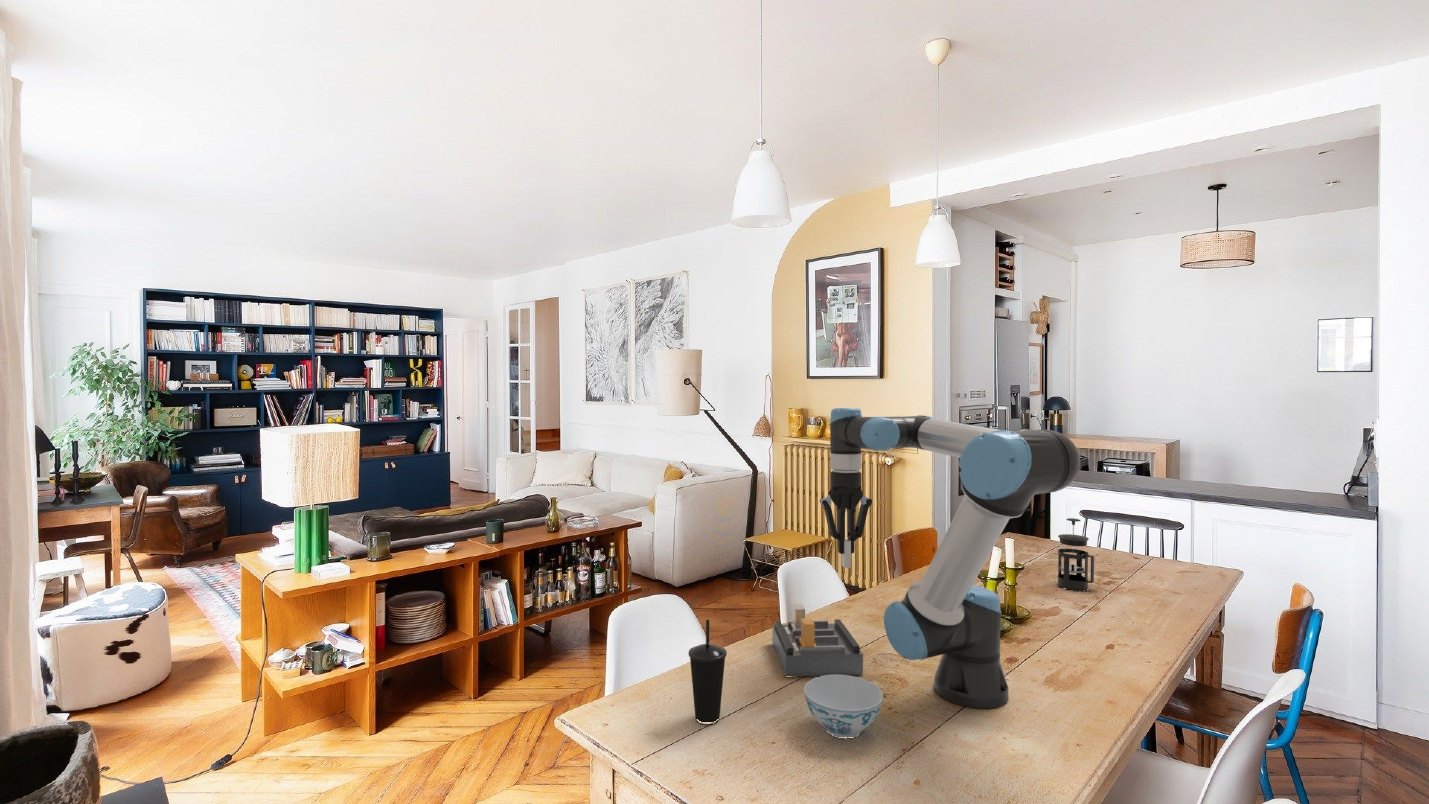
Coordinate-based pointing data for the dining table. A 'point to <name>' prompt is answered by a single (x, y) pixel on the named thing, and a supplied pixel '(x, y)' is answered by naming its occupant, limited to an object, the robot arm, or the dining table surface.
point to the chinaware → (843, 703)
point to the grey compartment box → (816, 648)
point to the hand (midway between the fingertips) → (846, 566)
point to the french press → (1073, 580)
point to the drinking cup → (707, 678)
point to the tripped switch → (807, 632)
